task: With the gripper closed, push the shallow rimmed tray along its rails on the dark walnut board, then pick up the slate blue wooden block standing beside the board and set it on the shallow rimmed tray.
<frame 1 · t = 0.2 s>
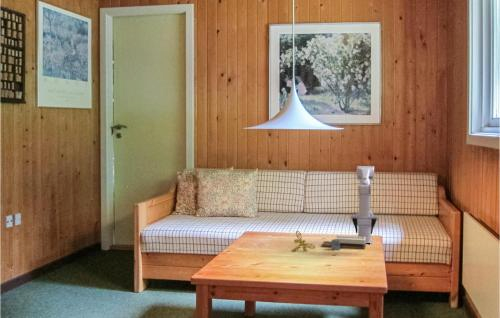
hand: (364, 233, 287), 10 cm above the table, tool pointing down, fingers open, 7 cm apart
block: (335, 249, 293), on the table
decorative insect: (303, 251, 287), on the table
shallow rimmed tray: (350, 240, 300), point 3 cm above the table, slide at 0.0 cm
track board: (343, 246, 301), on the table
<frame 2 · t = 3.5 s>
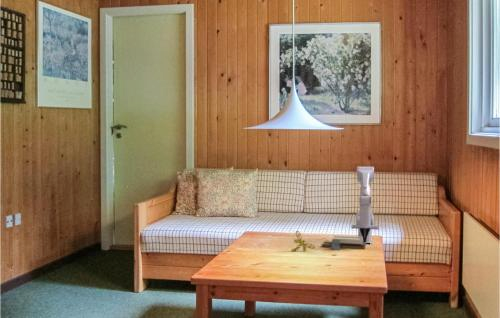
hand: (364, 242, 298), 3 cm above the table, tool pointing down, fingers closed
shallow rimmed tray: (347, 240, 301), point 3 cm above the table, slide at 1.5 cm, touching gripper
everything else where it was.
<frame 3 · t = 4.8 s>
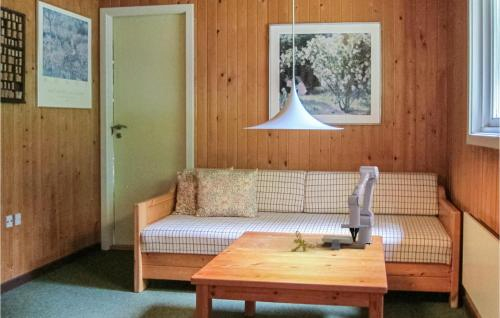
hand: (354, 241, 300), 3 cm above the table, tool pointing down, fingers closed
shallow rimmed tray: (337, 240, 302), point 3 cm above the table, slide at 7.1 cm, touching gripper
everything else where it was.
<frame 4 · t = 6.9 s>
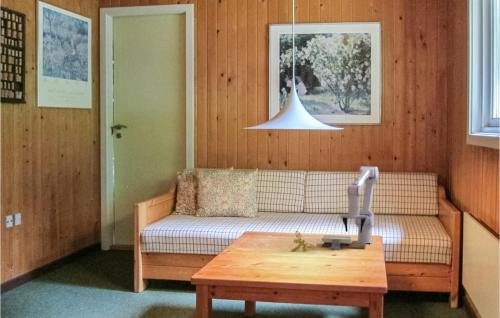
hand: (353, 232, 297), 9 cm above the table, tool pointing down, fingers open, 7 cm apart
shallow rimmed tray: (337, 240, 302), point 3 cm above the table, slide at 7.2 cm
everything else where it was.
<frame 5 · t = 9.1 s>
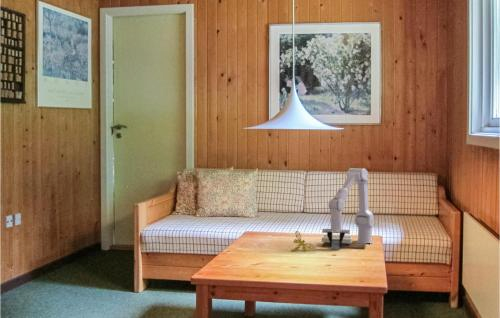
hand: (335, 246, 293), 1 cm above the table, tool pointing down, fingers closed on block, 4 cm apart
block: (335, 249, 293), on the table, touching gripper
everything else where it was.
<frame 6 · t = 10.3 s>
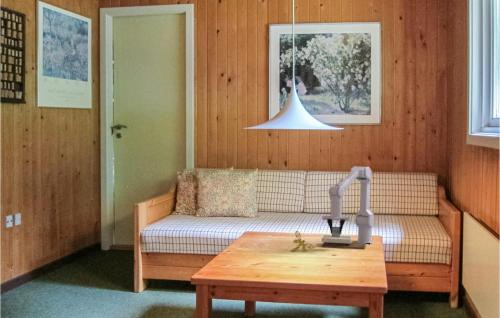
hand: (336, 233, 292), 8 cm above the table, tool pointing down, fingers closed on block, 4 cm apart
block: (335, 236, 292), point 7 cm above the table, touching gripper
everything else where it was.
when the fingers open (6 cm above the table, at t = 11.9 s): block stays where it is, resting on shallow rimmed tray.
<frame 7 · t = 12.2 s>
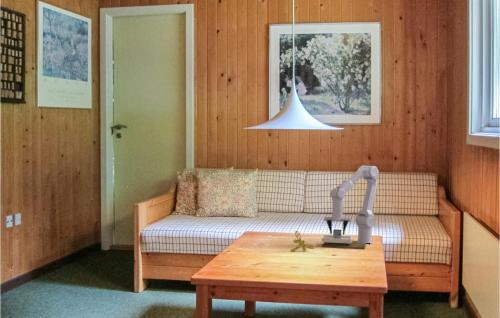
hand: (337, 234, 302), 6 cm above the table, tool pointing down, fingers open, 6 cm apart
block: (337, 239, 302), point 4 cm above the table, touching shallow rimmed tray
shallow rimmed tray: (337, 240, 302), point 3 cm above the table, slide at 7.2 cm, touching block
everything else where it was.
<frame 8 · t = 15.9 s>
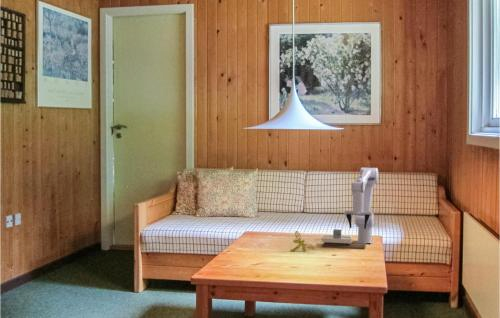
hand: (357, 228, 298), 10 cm above the table, tool pointing down, fingers open, 7 cm apart
nothing on the table moved.
at the end: shallow rimmed tray slide at 7.2 cm; block inside the target area on the shallow rimmed tray (0.3 cm from its centre), point 3.8 cm above the shallow rimmed tray's base; block tilted 0° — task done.
